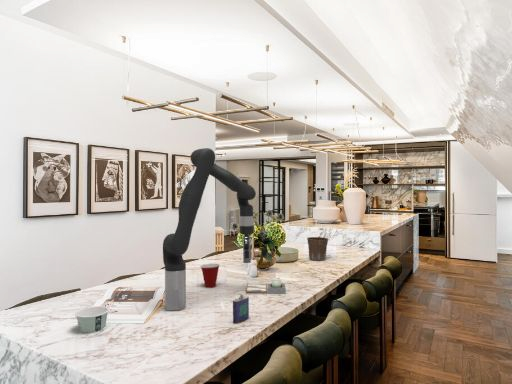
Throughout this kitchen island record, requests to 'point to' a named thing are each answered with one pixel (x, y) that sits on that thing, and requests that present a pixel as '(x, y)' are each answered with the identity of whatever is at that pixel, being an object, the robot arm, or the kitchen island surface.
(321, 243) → the plant pot
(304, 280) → the kitchen island surface
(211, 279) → the plastic cup
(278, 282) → the button
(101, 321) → the food container
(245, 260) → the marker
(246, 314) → the flask
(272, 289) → the button housing
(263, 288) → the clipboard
